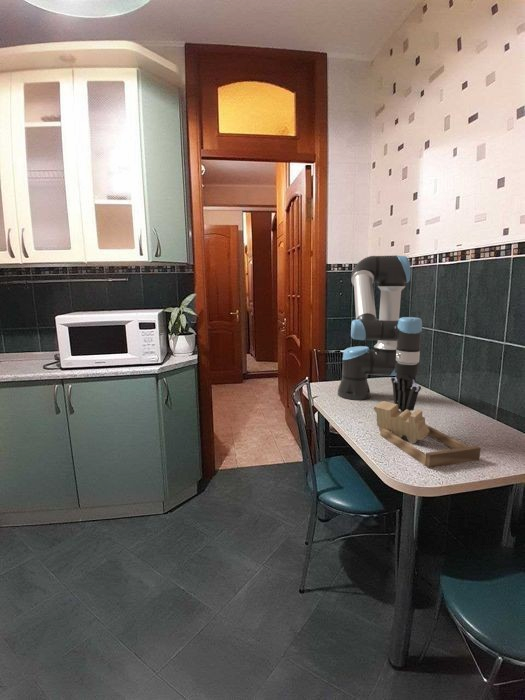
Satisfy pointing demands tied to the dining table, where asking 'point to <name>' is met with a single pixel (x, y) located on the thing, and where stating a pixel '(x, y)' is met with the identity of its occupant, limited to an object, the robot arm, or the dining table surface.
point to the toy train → (401, 421)
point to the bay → (438, 458)
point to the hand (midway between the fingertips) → (402, 426)
